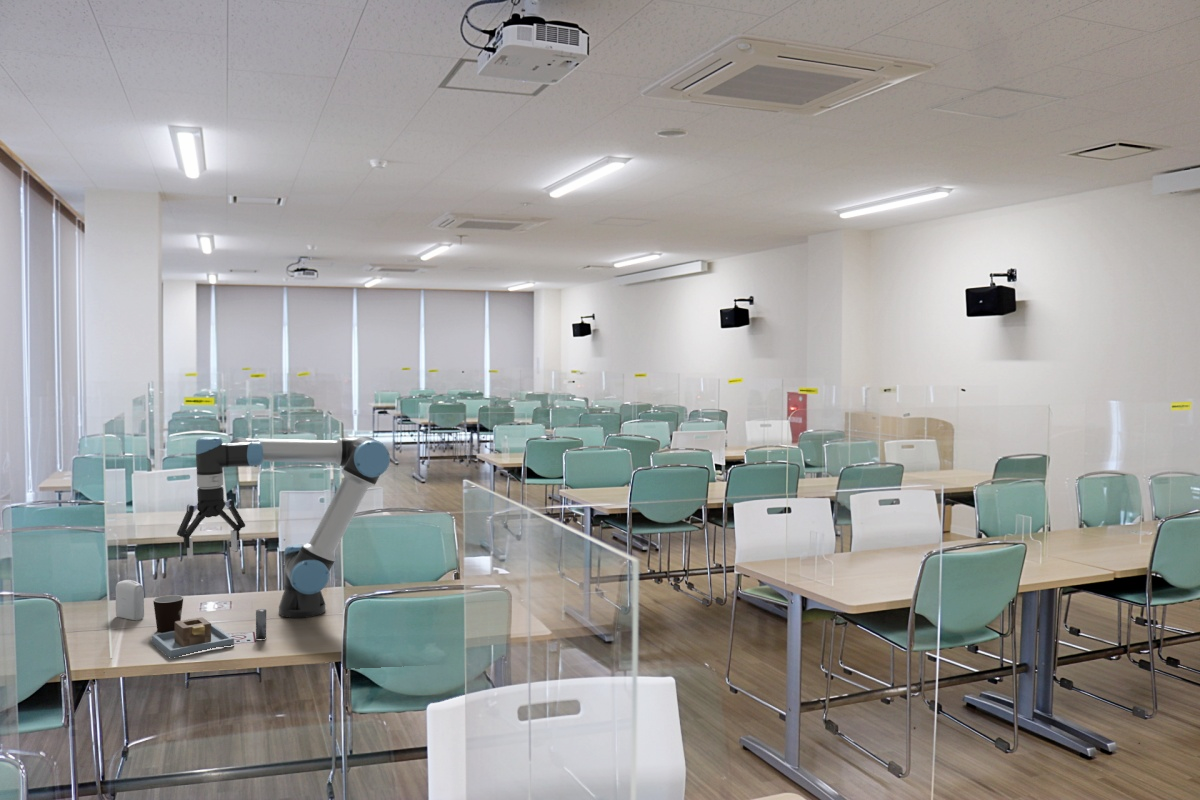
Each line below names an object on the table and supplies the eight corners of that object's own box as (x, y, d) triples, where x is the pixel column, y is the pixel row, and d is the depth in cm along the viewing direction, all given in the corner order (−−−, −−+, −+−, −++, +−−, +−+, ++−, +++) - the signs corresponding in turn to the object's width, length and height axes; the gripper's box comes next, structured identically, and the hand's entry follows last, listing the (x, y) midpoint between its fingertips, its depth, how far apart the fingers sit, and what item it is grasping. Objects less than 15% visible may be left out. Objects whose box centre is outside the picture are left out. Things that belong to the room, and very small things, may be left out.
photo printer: (113, 616, 302) (113, 579, 301) (125, 613, 306) (125, 577, 305) (134, 621, 298) (134, 584, 297) (146, 618, 301) (146, 581, 301)
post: (263, 637, 286) (264, 608, 285) (267, 639, 283) (267, 610, 283) (254, 638, 284) (254, 610, 283) (258, 641, 281) (258, 612, 281)
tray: (212, 631, 289) (212, 623, 289) (233, 646, 276) (233, 638, 276) (151, 643, 277) (151, 634, 277) (170, 659, 264) (170, 650, 264)
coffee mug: (171, 635, 285) (171, 603, 284) (147, 632, 287) (147, 601, 286) (195, 624, 296) (195, 593, 296) (171, 622, 298) (171, 591, 298)
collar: (202, 636, 282) (202, 617, 282) (213, 644, 275) (213, 624, 274) (174, 641, 277) (174, 621, 277) (185, 650, 269) (185, 629, 269)
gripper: (173, 493, 274) (175, 563, 276) (254, 483, 292) (256, 549, 293) (164, 490, 280) (166, 559, 281) (244, 481, 297) (246, 545, 299)
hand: (212, 554), depth 287 cm, fingers open, 13 cm apart
